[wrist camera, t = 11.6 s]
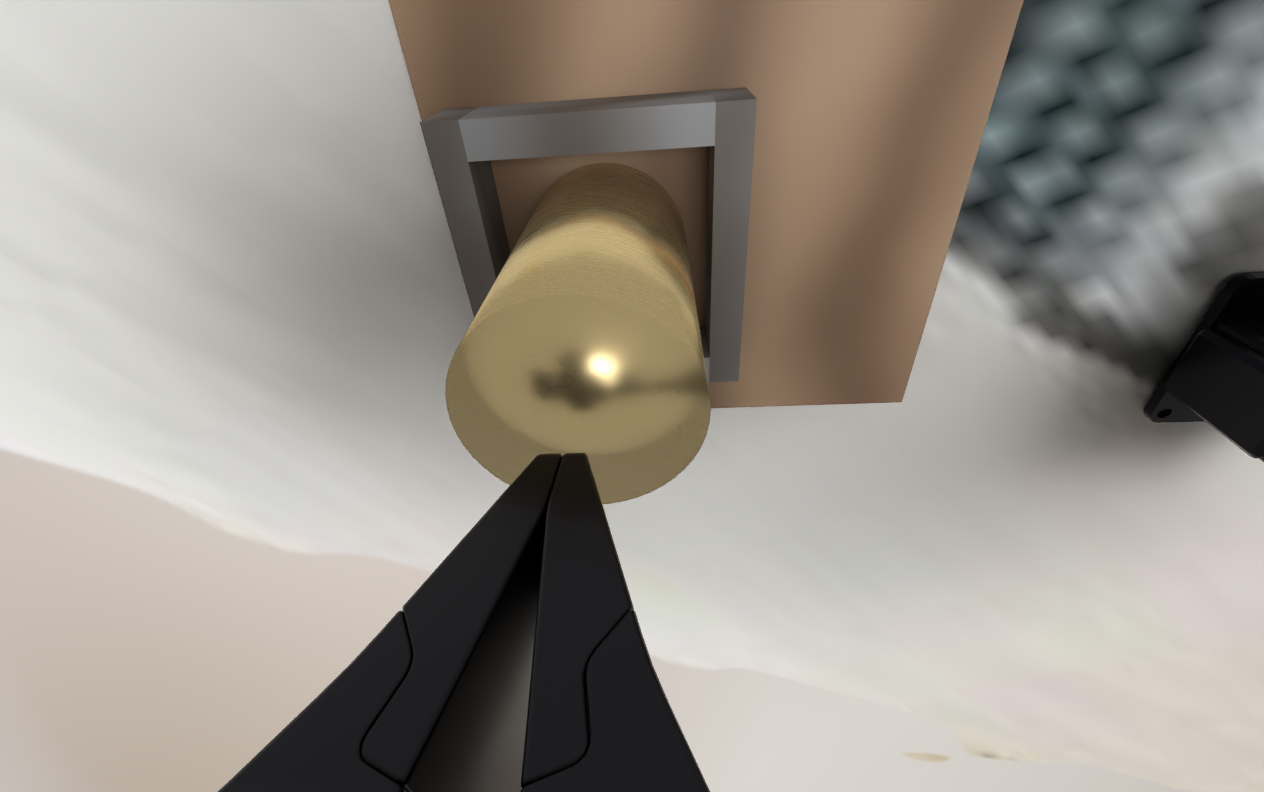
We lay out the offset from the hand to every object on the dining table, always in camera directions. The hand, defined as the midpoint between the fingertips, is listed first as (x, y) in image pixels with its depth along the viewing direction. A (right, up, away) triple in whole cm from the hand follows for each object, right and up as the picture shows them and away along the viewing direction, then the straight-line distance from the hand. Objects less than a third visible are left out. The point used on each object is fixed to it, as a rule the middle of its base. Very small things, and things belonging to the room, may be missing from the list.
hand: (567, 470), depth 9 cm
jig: (+3, +7, +9) cm, 12 cm away
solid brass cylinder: (0, +6, +8) cm, 10 cm away
